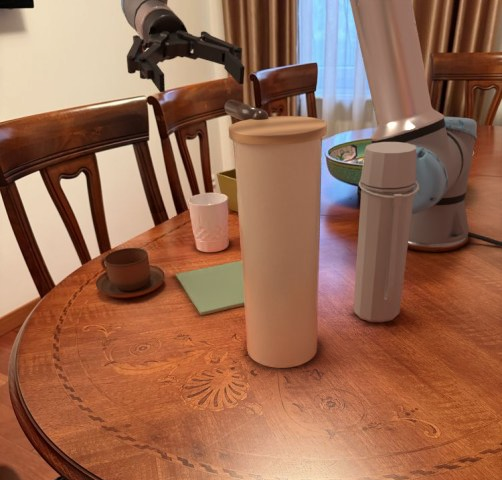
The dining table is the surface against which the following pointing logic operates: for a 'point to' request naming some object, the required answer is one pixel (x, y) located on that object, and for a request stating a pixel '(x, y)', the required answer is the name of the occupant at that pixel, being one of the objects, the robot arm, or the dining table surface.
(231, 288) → the mat
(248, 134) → the lid
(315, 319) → the canister
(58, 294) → the dining table surface
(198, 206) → the white cup
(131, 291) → the cup and saucer
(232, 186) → the flower pot
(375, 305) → the water bottle
